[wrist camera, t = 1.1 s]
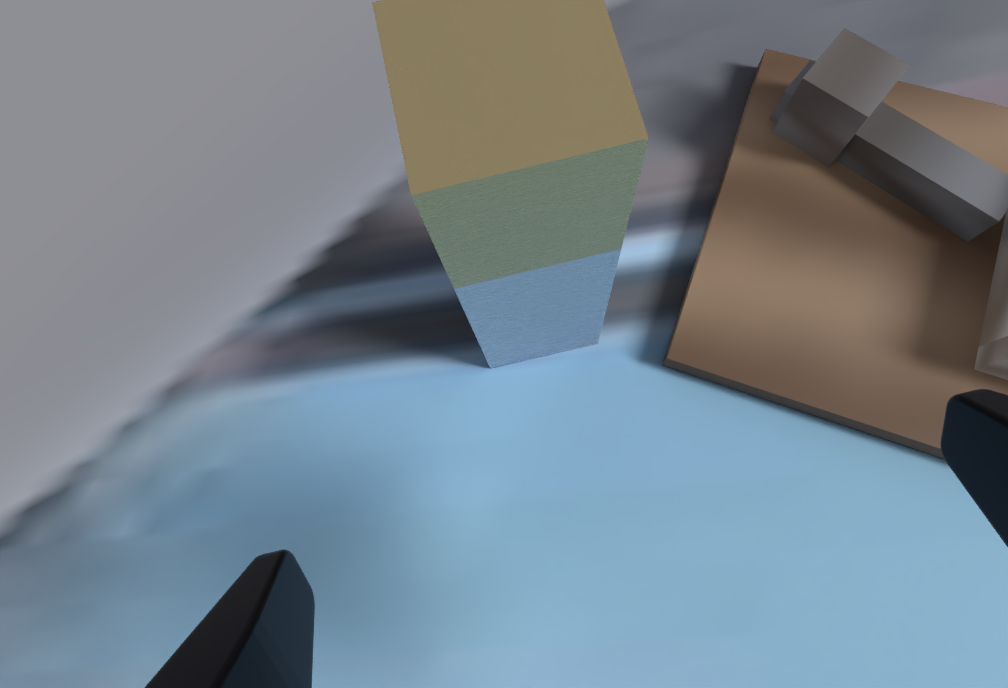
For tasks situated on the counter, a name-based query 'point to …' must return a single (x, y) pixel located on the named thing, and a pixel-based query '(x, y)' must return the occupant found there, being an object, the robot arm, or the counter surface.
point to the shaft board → (855, 248)
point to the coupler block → (517, 159)
